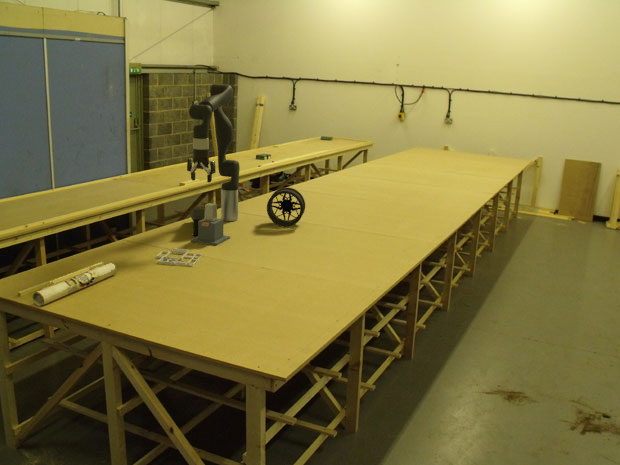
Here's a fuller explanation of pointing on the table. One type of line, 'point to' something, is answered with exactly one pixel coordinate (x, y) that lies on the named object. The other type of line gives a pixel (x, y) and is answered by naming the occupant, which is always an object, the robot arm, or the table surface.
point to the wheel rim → (286, 206)
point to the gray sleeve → (210, 232)
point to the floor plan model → (175, 260)
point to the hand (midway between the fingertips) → (201, 181)
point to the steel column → (211, 212)
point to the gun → (197, 218)
